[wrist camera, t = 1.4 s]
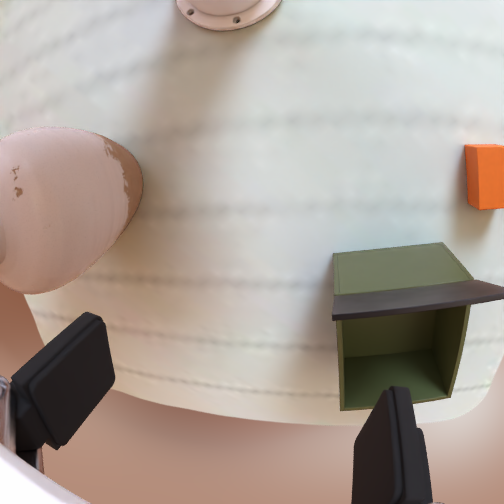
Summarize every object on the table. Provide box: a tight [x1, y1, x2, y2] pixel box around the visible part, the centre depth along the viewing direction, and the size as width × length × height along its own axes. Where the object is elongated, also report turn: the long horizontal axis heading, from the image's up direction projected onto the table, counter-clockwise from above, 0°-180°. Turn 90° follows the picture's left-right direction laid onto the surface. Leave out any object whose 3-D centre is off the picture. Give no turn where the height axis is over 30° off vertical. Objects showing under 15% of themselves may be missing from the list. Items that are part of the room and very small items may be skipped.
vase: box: [0, 127, 143, 294], centre depth 27 cm, size 16×16×23 cm
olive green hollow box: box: [333, 242, 474, 411], centre depth 31 cm, size 15×13×10 cm
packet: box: [465, 144, 504, 210], centre depth 26 cm, size 6×4×3 cm
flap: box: [332, 280, 504, 321], centre depth 20 cm, size 7×13×1 cm
